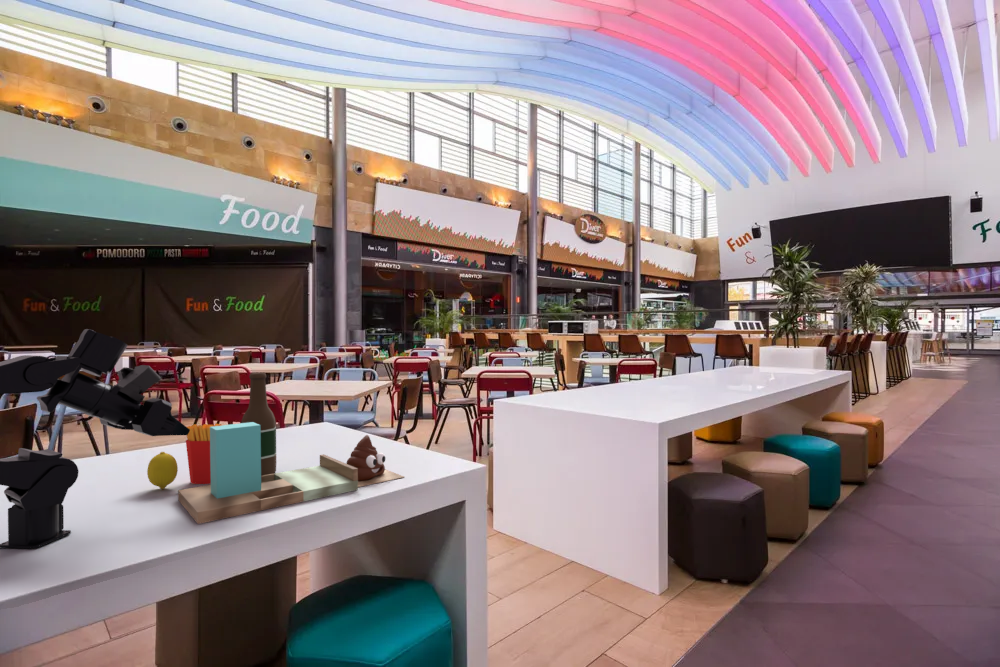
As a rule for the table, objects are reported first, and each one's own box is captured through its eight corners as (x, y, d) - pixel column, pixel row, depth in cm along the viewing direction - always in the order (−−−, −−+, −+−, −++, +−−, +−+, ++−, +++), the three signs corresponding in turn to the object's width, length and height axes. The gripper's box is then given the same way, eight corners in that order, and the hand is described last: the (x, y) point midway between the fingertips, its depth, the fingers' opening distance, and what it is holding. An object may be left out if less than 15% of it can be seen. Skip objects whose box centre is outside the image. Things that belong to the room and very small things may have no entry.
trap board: (197, 523, 94) (197, 498, 94) (178, 500, 108) (178, 477, 108) (357, 489, 113) (357, 468, 113) (324, 473, 127) (323, 454, 127)
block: (217, 498, 102) (216, 430, 102) (210, 492, 106) (209, 426, 105) (261, 490, 107) (260, 425, 107) (253, 484, 111) (253, 422, 111)
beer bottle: (264, 479, 122) (263, 374, 122) (233, 478, 123) (232, 374, 123) (283, 471, 130) (282, 371, 130) (254, 470, 131) (252, 371, 131)
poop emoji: (365, 469, 130) (365, 430, 130) (393, 473, 126) (393, 433, 126) (335, 479, 121) (335, 438, 121) (365, 484, 117) (364, 441, 117)
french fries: (231, 478, 123) (231, 422, 123) (222, 483, 119) (221, 425, 119) (192, 479, 123) (191, 422, 123) (180, 484, 119) (180, 425, 119)
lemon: (163, 493, 112) (162, 455, 112) (141, 492, 114) (140, 454, 114) (183, 485, 118) (183, 449, 118) (162, 484, 119) (161, 448, 119)
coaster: (351, 488, 114) (351, 487, 114) (326, 476, 124) (326, 475, 124) (404, 477, 123) (404, 476, 123) (377, 466, 132) (377, 466, 132)
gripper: (143, 357, 91) (222, 395, 103) (98, 355, 102) (175, 390, 113) (105, 418, 87) (192, 450, 98) (63, 410, 97) (146, 440, 109)
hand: (176, 430), depth 105 cm, fingers open, 9 cm apart
